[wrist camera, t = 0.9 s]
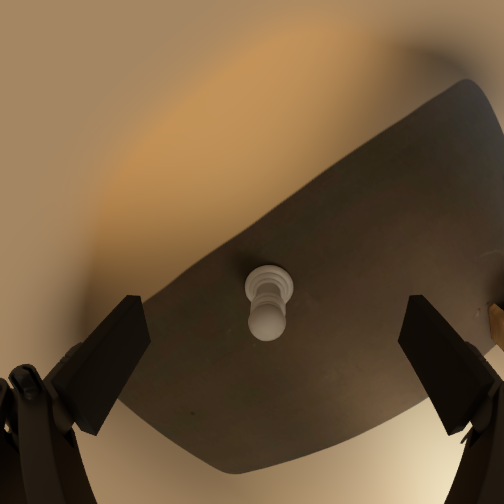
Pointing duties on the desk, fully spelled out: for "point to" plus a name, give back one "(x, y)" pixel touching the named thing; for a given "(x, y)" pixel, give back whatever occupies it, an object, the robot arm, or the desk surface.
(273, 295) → the chess piece
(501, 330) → the shelf
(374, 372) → the desk surface
